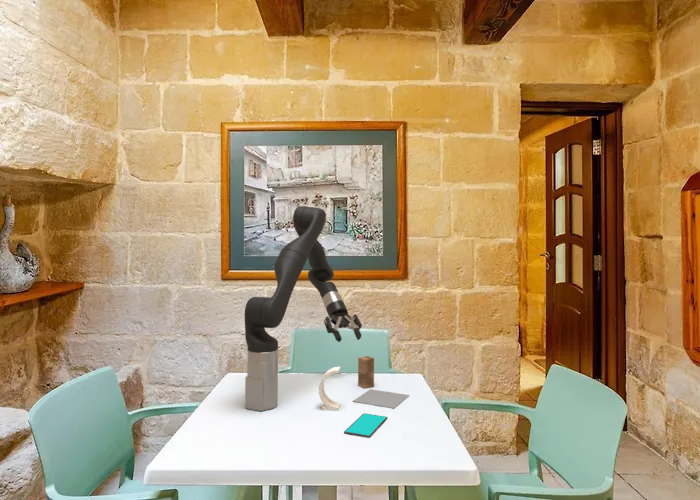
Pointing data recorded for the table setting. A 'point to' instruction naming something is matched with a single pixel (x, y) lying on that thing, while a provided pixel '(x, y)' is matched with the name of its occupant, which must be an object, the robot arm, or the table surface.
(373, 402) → the mat
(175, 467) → the table surface
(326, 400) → the headphone stand
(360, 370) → the walnut block
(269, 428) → the table surface
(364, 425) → the smartphone
